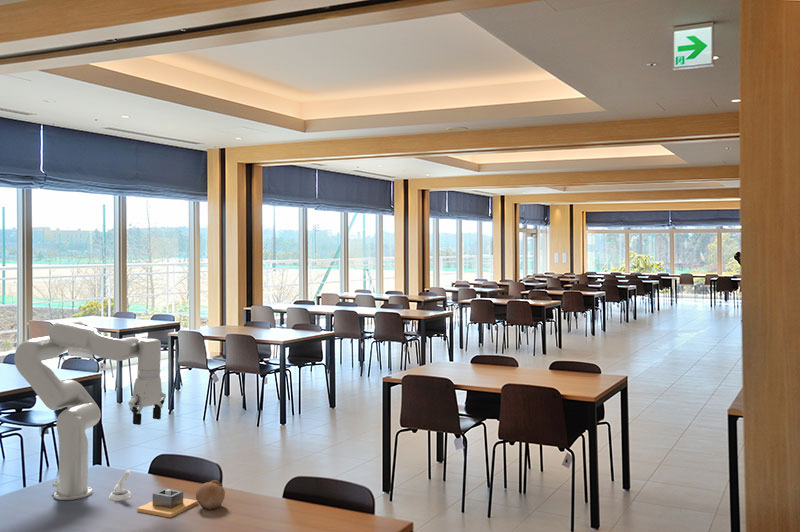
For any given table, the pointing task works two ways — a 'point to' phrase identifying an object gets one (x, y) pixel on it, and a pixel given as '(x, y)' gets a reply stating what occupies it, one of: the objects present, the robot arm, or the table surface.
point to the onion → (210, 494)
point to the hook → (121, 489)
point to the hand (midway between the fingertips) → (146, 421)
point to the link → (167, 498)
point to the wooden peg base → (167, 511)
